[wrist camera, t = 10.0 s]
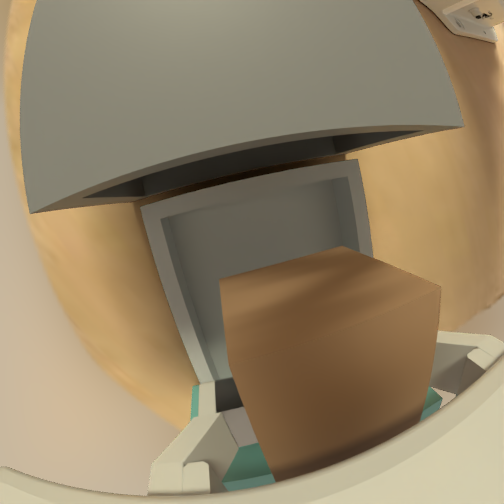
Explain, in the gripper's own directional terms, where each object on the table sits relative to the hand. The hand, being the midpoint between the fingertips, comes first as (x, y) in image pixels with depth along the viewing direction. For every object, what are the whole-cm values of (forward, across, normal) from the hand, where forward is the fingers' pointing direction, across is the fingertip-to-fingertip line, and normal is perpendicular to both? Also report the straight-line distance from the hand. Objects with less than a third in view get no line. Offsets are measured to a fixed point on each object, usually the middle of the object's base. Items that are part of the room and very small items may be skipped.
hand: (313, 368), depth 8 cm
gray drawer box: (+9, 0, -14) cm, 17 cm away
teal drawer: (+9, 0, 0) cm, 9 cm away
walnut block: (+2, 0, 0) cm, 2 cm away
